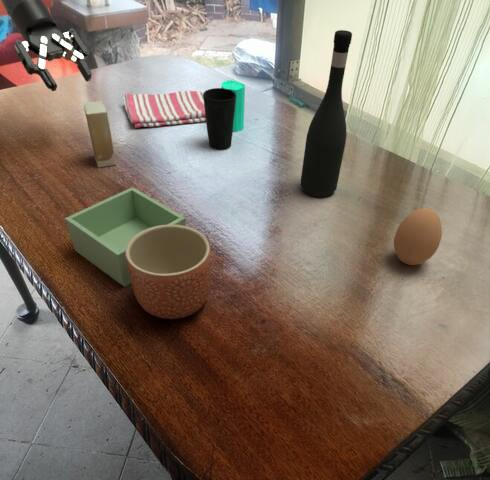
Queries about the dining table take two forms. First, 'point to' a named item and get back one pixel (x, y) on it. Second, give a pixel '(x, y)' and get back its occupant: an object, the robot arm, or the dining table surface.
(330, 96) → the wine bottle
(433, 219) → the egg
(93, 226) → the green open box
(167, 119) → the dish towel
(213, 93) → the cup
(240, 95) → the candle
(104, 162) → the cosmetic box
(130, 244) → the planter
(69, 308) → the dining table surface
